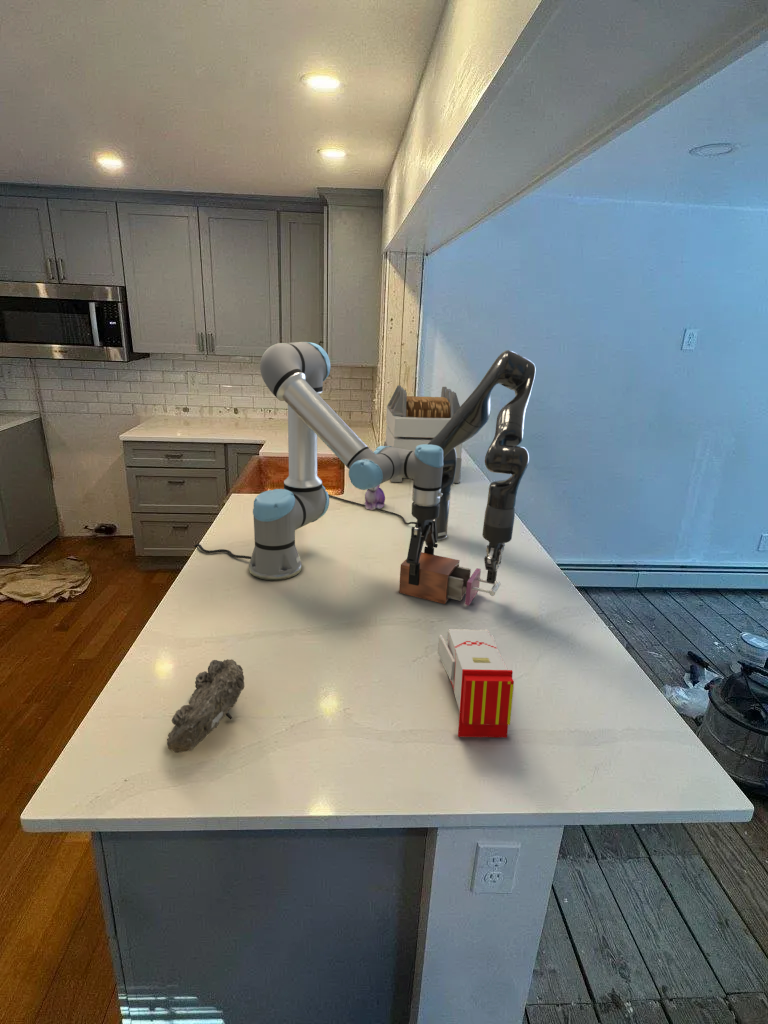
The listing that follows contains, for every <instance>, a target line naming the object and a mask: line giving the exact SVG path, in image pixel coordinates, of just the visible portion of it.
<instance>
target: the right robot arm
mask: <svg viewBox="0 0 768 1024" xmlns="http://www.w3.org/2000/svg"><path fill="white" fill-rule="evenodd" d="M536 369H537V368H536V365H535V363H534V362H533V361H531V360H530V359H528V358H527V357H525V356H523V355H520V354H519V353H517V352H515V351H512V350H509V349H506V350H504V351H502V352H501V353H500V354H499V355H498V356H497V357H496V359H495V360H494V361H493V363H492V364H491V366H490V367H489V369H488V370H487V372H486V373H485V375H484V376H483V378H482V379H481V380H480V382H479V384H477V386H476V387H475V389H474V390H473V391H472V392H471V393H470V395H469V396H468V397H467V398H466V399H465V400H464V401H463V402H462V404H461V405H460V408H459V409H458V410H457V411H456V413H455V414H454V415H453V417H452V418H451V419H450V420H449V422H448V423H447V424H446V425H445V426H444V428H443V429H442V430H441V431H440V432H439V433H438V434H437V435H436V436H435V437H434V438H433V439H432V440H431V441H430V442H429V443H428V445H430V444H431V445H437V446H439V447H441V448H442V449H443V463H444V465H443V472H442V482H441V493H442V496H441V497H440V502H439V505H440V509H439V517H438V518H437V521H436V522H437V542H440V541H444V540H446V539H447V538H448V525H449V517H450V516H449V514H450V504H451V494H452V493H451V491H452V486H453V484H454V483H453V482H454V476H455V469H456V460H457V456H456V450H455V447H457V446H458V445H460V444H462V445H463V444H464V443H465V442H467V441H468V440H470V439H471V438H473V437H475V435H477V434H478V433H479V432H480V431H481V429H483V427H484V426H485V425H486V424H487V423H488V421H489V420H490V416H491V398H492V391H493V389H494V388H495V387H496V385H501V386H503V387H505V388H507V389H509V390H511V391H513V392H514V397H513V398H512V399H511V400H510V401H508V402H506V404H504V405H503V406H502V407H501V409H500V410H499V411H498V414H497V417H496V422H495V423H496V424H495V432H494V437H493V439H492V441H491V443H490V445H489V446H488V448H487V450H486V453H485V456H484V465H485V467H486V469H487V470H488V471H489V472H490V473H493V474H504V475H510V476H509V477H508V478H507V479H500V480H494V481H492V482H490V484H489V486H488V492H487V493H488V494H487V500H486V501H487V502H486V507H485V510H484V519H483V527H482V535H481V536H482V538H483V539H484V540H485V541H487V542H488V544H487V545H486V549H485V552H486V555H485V556H484V558H483V561H484V567H485V568H484V569H485V570H486V571H487V573H486V580H487V582H489V583H494V582H496V581H497V576H498V569H499V568H500V565H501V562H502V559H503V554H504V550H505V546H506V543H509V542H511V541H512V537H513V531H514V524H515V517H516V516H515V515H516V503H517V495H518V491H519V487H520V484H521V482H522V479H523V477H524V474H525V473H526V470H527V468H528V466H529V462H530V454H529V451H528V449H527V448H526V447H524V446H520V444H521V443H522V442H523V440H524V439H523V438H524V430H525V429H524V428H525V417H526V412H527V407H528V405H529V401H530V398H531V393H532V389H533V385H534V381H535V377H536V372H537V371H536ZM328 495H329V498H333V499H336V500H339V501H342V502H346V503H349V504H354V505H358V506H361V507H366V505H364V504H365V503H359V502H356V501H351V500H348V499H344V498H341V497H338V496H335V495H332V494H329V493H328ZM375 510H376V511H379V512H384V513H387V514H390V515H393V516H396V517H399V518H401V520H402V521H403V522H402V523H404V525H406V526H408V525H416V523H417V521H409V522H407V521H406V520H405V518H404V517H403V515H401V514H399V513H396V512H394V511H393V512H392V511H389V510H386V509H382V508H380V509H379V508H375ZM421 537H424V536H421ZM489 583H488V584H489Z"/></svg>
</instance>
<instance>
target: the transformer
mask: <svg viewBox="0 0 768 1024" xmlns="http://www.w3.org/2000/svg"><path fill="white" fill-rule="evenodd" d="M440 393H441V394H440V396H415V395H414V396H413V395H412V396H411V395H407V394H408V393H407V390H406V389H404V388H403V387H402V385H399V384H398V385H397V386H396V388H395V390H394V392H393V394H392V395H391V398H390V400H389V402H388V404H387V405H386V413H385V414H386V415H385V423H386V428H385V438H384V442H383V446H392V447H394V448H400V449H405V450H411V451H415V449H416V447H417V446H418V445H421V444H428V443H429V442H430V441H431V440H432V439H433V438H434V437H435V436H436V435H437V434H438V433H439V432H440V431H441V430H442V429H443V428H444V426H445V425H446V424H447V423H448V422H449V420H450V419H451V418H452V417H453V415H454V414H455V413H456V411H457V410H458V409H459V408H460V406H461V405H460V402H459V398H458V395H457V392H455V391H453V390H452V389H451V388H447V386H442V387H441V392H440ZM455 450H456V456H457V460H456V469H455V476H454V482H453V484H455V483H456V484H459V483H461V472H462V461H463V460H462V453H463V443H462V444H460V445H458V446H457V447H455ZM389 481H390V482H391V483H402V482H403V477H398V476H396V477H394V478H392V479H390V480H389Z"/></svg>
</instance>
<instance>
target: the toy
mask: <svg viewBox="0 0 768 1024" xmlns="http://www.w3.org/2000/svg"><path fill="white" fill-rule="evenodd" d="M446 640H447V643H446V641H445V639H444V636H443V635H442V634H439V637H438V646H437V656H438V657H439V659H440V661H441V663H442V666H443V668H444V670H445V672H446V674H447V677H448V679H449V681H450V684H451V687H452V690H453V693H454V697H455V701H456V705H457V708H458V711H459V714H458V715H459V716H458V730H457V731H458V732H457V737H458V738H508V731H509V726H510V725H511V717H512V707H513V697H514V696H513V695H514V684H515V680H514V679H513V673H514V671H513V670H512V669H508V667H507V665H506V662H505V661H504V659H503V658H502V655H501V653H500V651H499V649H498V647H497V643H496V639H495V637H494V635H493V634H491V632H490V631H489V629H467V628H466V629H465V628H463V629H461V628H460V629H459V628H448V630H447V639H446Z"/></svg>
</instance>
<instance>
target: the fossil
mask: <svg viewBox="0 0 768 1024" xmlns="http://www.w3.org/2000/svg"><path fill="white" fill-rule="evenodd" d="M243 670H244V669H243V667H242V665H240V664H237V662H236V661H235V660H234V659H232V658H231V659H227V658H226V659H224V660H223V661H222V660H217V659H212V660H211V661H210V663H209V665H208V666H207V671H201V672H199V673H198V674H197V675H196V676H195V680H194V684H195V685H194V687H195V689H194V690H193V693H192V694H191V697H190V698H189V700H188V704H184V705H182V706H181V707H180V709H177V710H176V711H175V713H174V715H173V716H172V718H171V723H172V724H173V727H172V730H171V731H170V732H168V734H167V738H166V741H167V742H166V745H167V749H168V750H169V751H173V752H174V753H176V754H178V753H182V752H188V751H189V752H192V751H193V750H195V748H196V747H197V746H199V744H200V743H201V742H203V741H204V740H205V739H206V738H207V737H208V736H209V735H210V734H211V733H212V732H214V730H215V729H217V727H218V726H219V724H220V722H221V721H222V720H223V719H224V718H225V716H226V717H227V719H229V720H233V717H232V715H230V714H229V710H230V709H231V708H234V706H235V704H236V703H237V702H238V699H239V697H240V695H241V693H242V691H243V690H245V689H244V688H245V675H244V671H243Z"/></svg>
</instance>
